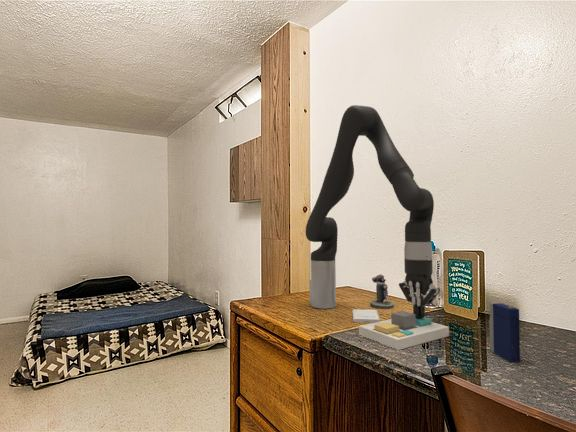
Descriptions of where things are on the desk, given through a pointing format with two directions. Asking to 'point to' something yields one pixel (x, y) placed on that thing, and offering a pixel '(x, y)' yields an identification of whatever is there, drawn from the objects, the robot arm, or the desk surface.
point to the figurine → (381, 294)
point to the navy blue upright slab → (504, 331)
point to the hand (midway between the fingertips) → (419, 318)
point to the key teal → (423, 322)
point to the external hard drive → (365, 316)
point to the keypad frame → (405, 334)
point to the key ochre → (386, 328)
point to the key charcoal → (403, 319)
